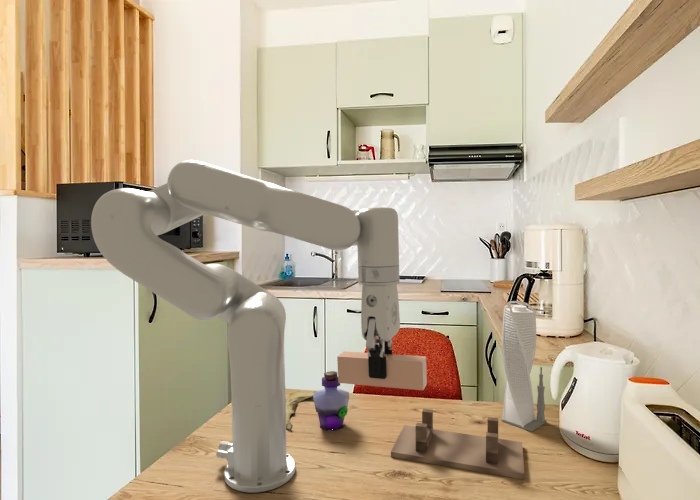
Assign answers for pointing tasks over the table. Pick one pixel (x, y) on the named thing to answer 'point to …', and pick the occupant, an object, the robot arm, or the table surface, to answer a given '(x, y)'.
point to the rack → (460, 448)
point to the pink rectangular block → (399, 370)
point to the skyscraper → (520, 368)
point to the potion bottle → (331, 403)
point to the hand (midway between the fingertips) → (380, 373)
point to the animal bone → (294, 405)
